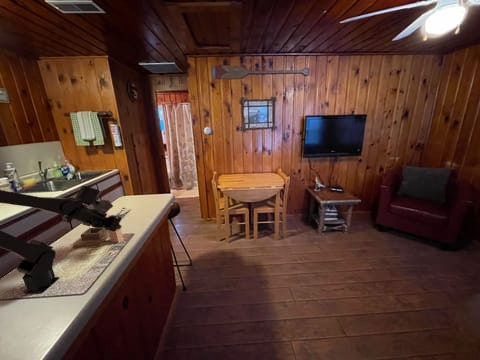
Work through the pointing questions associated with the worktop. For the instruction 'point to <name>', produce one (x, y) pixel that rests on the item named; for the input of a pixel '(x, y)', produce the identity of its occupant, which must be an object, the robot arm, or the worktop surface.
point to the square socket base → (92, 237)
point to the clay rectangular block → (115, 235)
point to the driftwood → (122, 214)
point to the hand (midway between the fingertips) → (116, 226)
